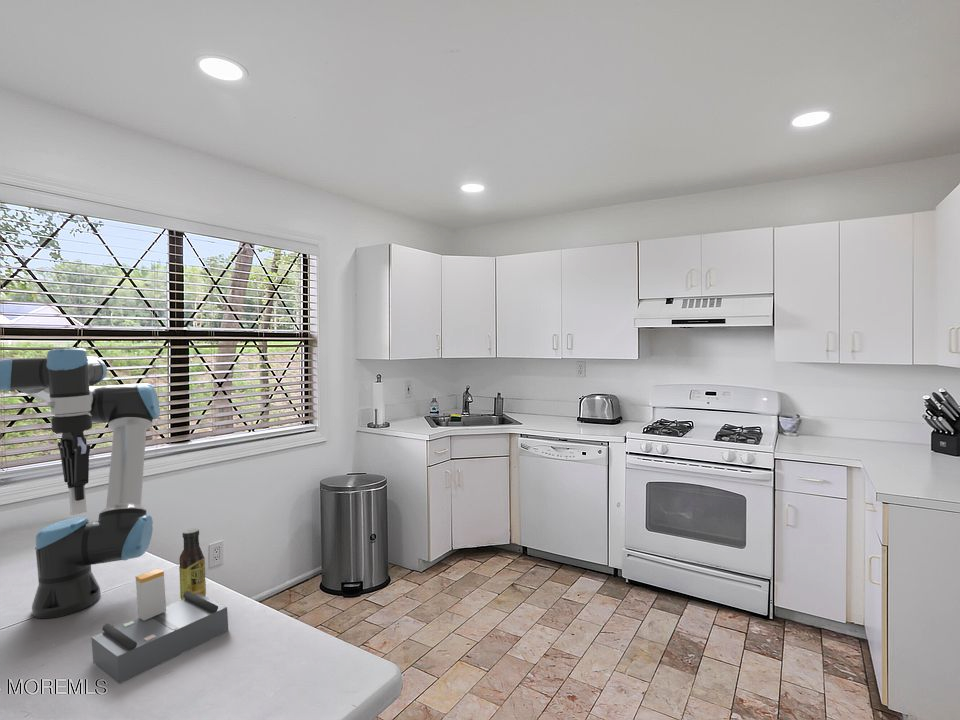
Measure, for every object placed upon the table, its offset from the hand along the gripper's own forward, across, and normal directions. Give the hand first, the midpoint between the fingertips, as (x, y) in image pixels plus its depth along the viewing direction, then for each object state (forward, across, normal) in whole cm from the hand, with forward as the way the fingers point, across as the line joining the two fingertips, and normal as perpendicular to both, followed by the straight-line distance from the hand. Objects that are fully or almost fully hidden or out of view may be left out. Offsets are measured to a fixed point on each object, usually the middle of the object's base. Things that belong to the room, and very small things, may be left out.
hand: (78, 512), depth 126 cm
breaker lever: (+26, +11, +10) cm, 30 cm away
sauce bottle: (+33, 0, +25) cm, 41 cm away
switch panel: (+32, +16, +10) cm, 37 cm away
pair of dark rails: (+26, +16, +10) cm, 32 cm away
